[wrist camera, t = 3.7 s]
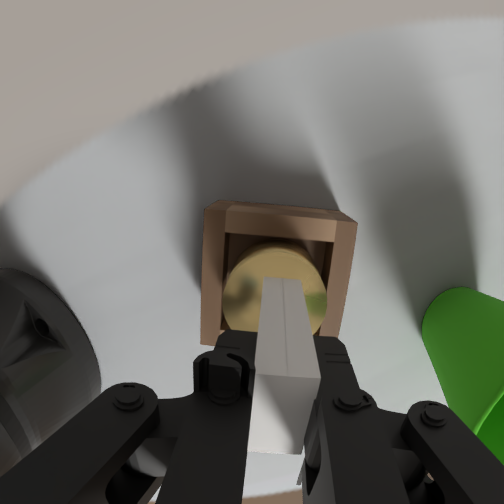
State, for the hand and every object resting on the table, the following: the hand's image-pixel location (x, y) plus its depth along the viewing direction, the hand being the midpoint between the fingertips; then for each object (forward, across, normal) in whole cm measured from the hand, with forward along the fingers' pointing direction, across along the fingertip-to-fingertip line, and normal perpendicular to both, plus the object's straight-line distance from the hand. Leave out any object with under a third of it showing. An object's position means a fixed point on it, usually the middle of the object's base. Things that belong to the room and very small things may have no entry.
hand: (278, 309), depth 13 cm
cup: (+7, +13, -3) cm, 15 cm away
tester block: (+6, 0, 0) cm, 6 cm away
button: (+3, 0, 0) cm, 3 cm away
